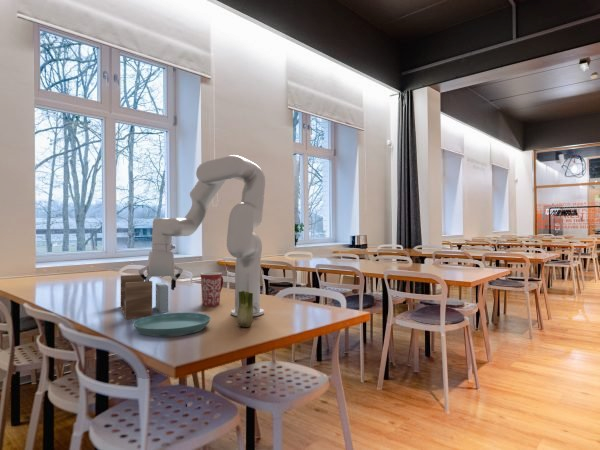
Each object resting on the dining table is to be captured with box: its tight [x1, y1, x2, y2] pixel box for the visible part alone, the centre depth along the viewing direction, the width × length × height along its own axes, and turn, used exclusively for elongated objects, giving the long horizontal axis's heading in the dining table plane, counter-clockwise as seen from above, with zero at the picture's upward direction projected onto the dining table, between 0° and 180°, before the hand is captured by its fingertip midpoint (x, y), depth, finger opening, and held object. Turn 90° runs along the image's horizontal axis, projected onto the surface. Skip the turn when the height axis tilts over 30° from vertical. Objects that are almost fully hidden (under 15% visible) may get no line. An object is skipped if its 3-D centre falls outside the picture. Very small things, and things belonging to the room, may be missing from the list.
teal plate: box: [132, 312, 211, 338], centre depth 135 cm, size 24×24×3 cm
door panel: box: [155, 282, 169, 313], centre depth 167 cm, size 12×3×10 cm, turn 28°
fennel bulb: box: [236, 291, 254, 328], centre depth 138 cm, size 6×5×12 cm
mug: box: [200, 271, 224, 307], centre depth 179 cm, size 13×9×14 cm
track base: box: [119, 274, 153, 320], centre depth 162 cm, size 26×9×13 cm, turn 28°
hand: (160, 290), depth 167 cm, fingers open, 9 cm apart
